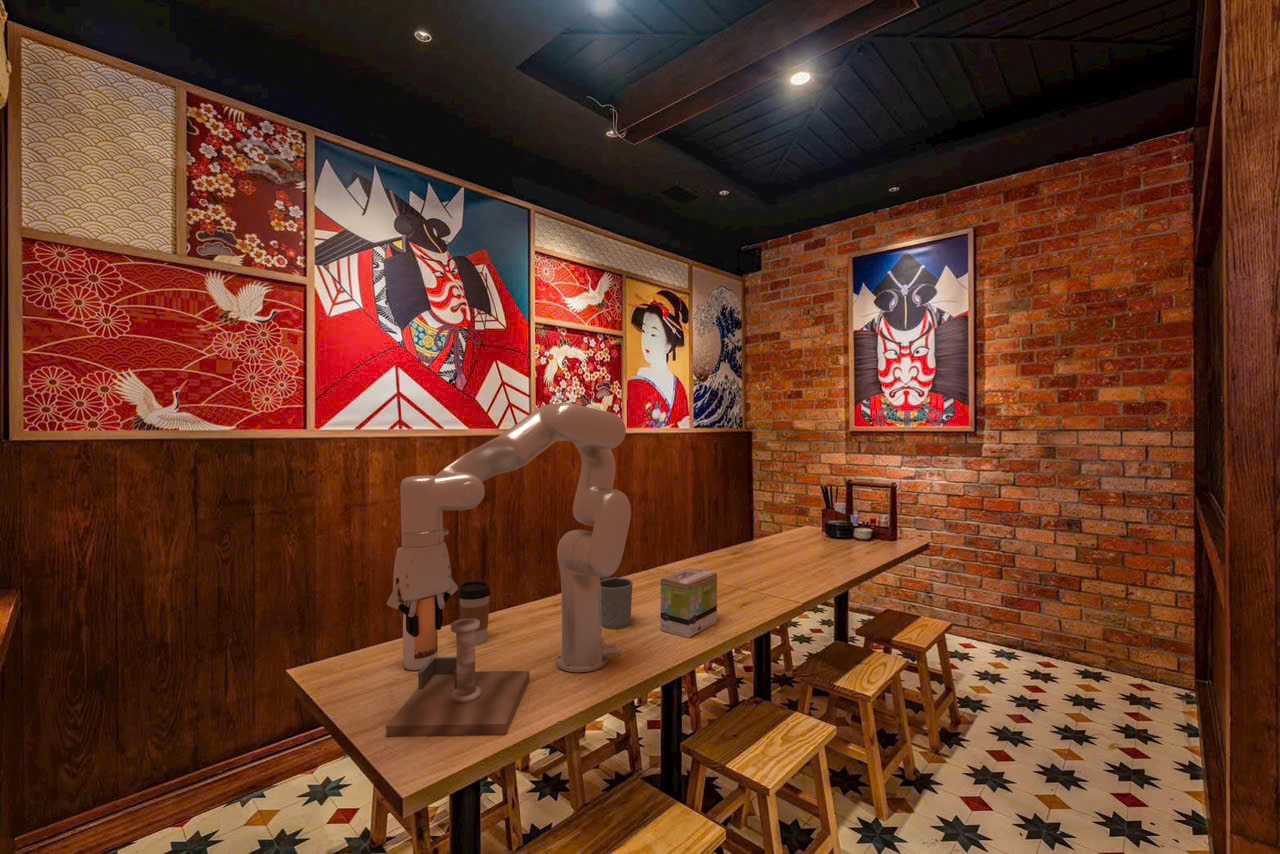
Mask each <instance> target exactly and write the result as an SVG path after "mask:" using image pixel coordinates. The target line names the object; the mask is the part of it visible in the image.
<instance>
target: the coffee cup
mask: <svg viewBox="0 0 1280 854" xmlns="http://www.w3.org/2000/svg"><path fill="white" fill-rule="evenodd" d="M458 591H459V592H458V594H457V595H458V596H457V597H458V599H459V611H460V619H467V618H474V619H478V620H479V621H480V627H479V629H477V630H475V646H477V645H478V646H479V645H481V644H484V643H486V642H487V640H488V639H487V638H488V628H489V627H488V626H489V617H490V616H489V613H490V602H491V601H490V595H491V594H492V591H491V589H490V585H489V584H488V583H487V582H483V581H477V580H475V581H473V580H471V581H466V582H463V583H461V584H460V585H459V588H458Z"/></svg>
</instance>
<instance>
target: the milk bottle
mask: <svg viewBox="0 0 1280 854" xmlns="http://www.w3.org/2000/svg"><path fill="white" fill-rule="evenodd" d="M402 616H403V618H402V662H403V668H404V669H406V670H409V671H420V670H421V669H422V668H423V667H424V666H425V664H426V663H427V662H428V661H429V660H430V659H431V658H432V657H439V652H438V651H439V650H438V649H439V647H438V630H436V647H435V648H434V649H432V650H429V651H424V652H417V651H415V650H414V637H413V636H411V635H410V634H408V632H407V631H406V615H405V614H404V613H403V615H402Z"/></svg>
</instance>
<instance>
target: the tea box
mask: <svg viewBox="0 0 1280 854" xmlns="http://www.w3.org/2000/svg"><path fill="white" fill-rule="evenodd" d="M659 621H660V626H659V627H660V628H659V629H660V631H662V632H665V633H668V634H671V635H677V636H679V637H684V638H686V639H687V638H688V639H690V638H692V637H693V636H694V635H696V634H698V633H700V632H702V631H703V630H705V629H707V628H709V627H711V626H712V625H715V624H717V621H718V573H717V572H715V571H709V570H704V569H703V570H702V569H697V568H691V567H688V568H686V569H683V570H680V571H677V572H675V573H672V574H670V575H666V576H664V577H661V578H660V620H659Z"/></svg>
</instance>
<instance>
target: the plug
mask: <svg viewBox="0 0 1280 854" xmlns="http://www.w3.org/2000/svg"><path fill="white" fill-rule="evenodd" d="M415 615H416V616H418V636H417V637H414V650H415V651H417V652H424V651H429V650H432V649H434V648H435V647H436V625H435V596H431V597H427V598H423V599H419V600H417V604H416V611H415Z"/></svg>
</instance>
